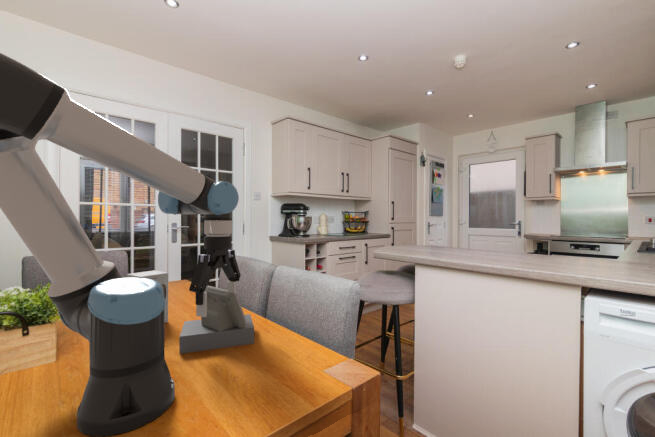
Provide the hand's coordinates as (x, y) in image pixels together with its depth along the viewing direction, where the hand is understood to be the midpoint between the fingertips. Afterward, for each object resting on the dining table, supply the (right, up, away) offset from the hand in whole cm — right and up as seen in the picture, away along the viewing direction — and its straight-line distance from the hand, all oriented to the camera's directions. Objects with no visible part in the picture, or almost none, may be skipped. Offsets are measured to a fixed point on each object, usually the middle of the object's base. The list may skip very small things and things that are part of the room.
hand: (217, 309), depth 86 cm
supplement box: (-28, -9, +13) cm, 33 cm away
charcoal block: (0, -10, 0) cm, 10 cm away
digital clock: (+1, -5, 0) cm, 5 cm away
